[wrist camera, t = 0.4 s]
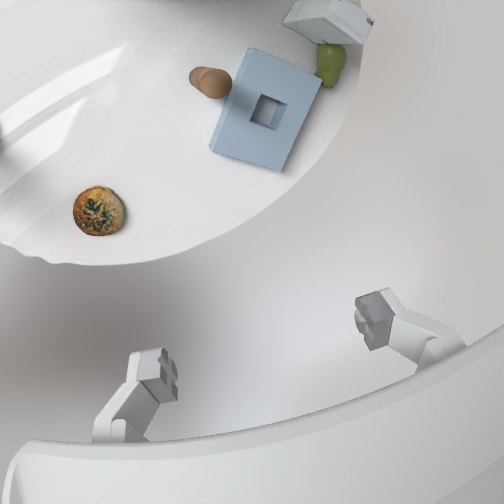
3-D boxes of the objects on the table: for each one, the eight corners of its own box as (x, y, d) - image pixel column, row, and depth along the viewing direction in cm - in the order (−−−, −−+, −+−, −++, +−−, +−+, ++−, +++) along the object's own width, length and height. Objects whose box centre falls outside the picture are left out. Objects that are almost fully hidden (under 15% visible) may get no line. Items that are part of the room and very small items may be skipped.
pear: (353, 46, 43) (344, 92, 50) (339, 41, 46) (331, 84, 53) (328, 41, 41) (319, 90, 49) (314, 37, 45) (307, 82, 52)
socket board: (248, 48, 44) (254, 48, 41) (312, 77, 50) (322, 79, 47) (208, 145, 54) (212, 152, 51) (273, 164, 60) (280, 172, 57)
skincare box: (280, 23, 42) (320, 17, 31) (294, 0, 40) (337, -12, 28) (317, 45, 46) (362, 47, 35) (329, 22, 44) (377, 20, 32)
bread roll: (67, 224, 53) (63, 235, 50) (84, 175, 50) (81, 182, 47) (114, 240, 60) (114, 251, 56) (133, 194, 57) (134, 202, 53)
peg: (193, 64, 44) (207, 65, 31) (215, 70, 45) (236, 74, 33) (185, 84, 45) (196, 93, 33) (207, 90, 47) (225, 102, 35)
